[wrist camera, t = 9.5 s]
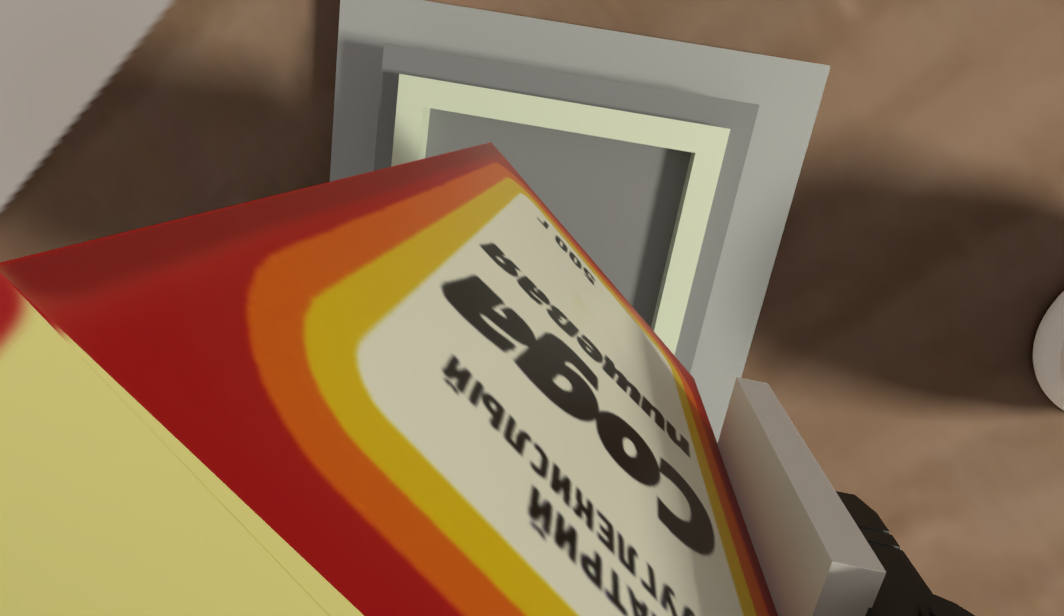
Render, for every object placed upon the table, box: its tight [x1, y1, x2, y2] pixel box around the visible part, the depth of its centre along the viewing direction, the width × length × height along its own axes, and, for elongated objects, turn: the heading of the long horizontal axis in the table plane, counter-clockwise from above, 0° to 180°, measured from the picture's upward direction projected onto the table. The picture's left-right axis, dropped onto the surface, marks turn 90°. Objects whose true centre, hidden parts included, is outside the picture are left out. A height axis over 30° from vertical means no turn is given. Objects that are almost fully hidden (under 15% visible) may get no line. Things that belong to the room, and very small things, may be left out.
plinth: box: [330, 0, 830, 444], centre depth 27 cm, size 20×20×6 cm
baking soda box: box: [0, 142, 778, 616], centre depth 12 cm, size 10×6×16 cm
